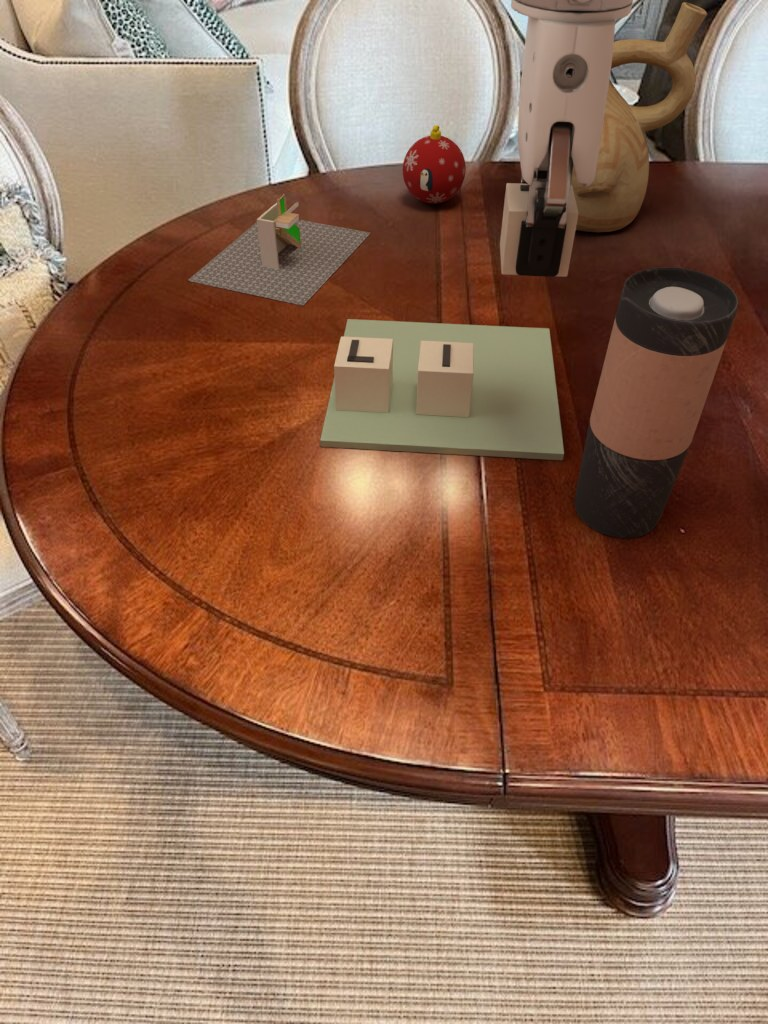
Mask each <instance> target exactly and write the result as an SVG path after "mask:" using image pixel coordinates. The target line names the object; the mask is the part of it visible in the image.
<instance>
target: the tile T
mask: <svg viewBox="0 0 768 1024" xmlns="http://www.w3.org/2000/svg"><path fill="white" fill-rule="evenodd" d="M545 191H546V190H545V189H538V194H537V202H538V200H539V198H544V194H545ZM528 194H529V184H521V183H520V182H519V183H516V182H515V183H514V182H513V183H512V182H507V183H506V186H505V194H504V203H503V211H502V220H501V221H502V222H501V231H500V239H499V252H500V255H499V256H500V269H501V270H500V273H501V275H506V276H507V275H512V276H519V275H518V274H517V273H516V260H517V253H518V245H519V237H520V230H521V222H522V221H526V213H527V204H528ZM578 214H579V213H578V209H577V205H576V200H575V196H574V192H573V187H572V185H571V187H570V195H569V203H568V211H567V218H566V225H567V227H566V233H565V238H564V244H563V250H562V256H561V262H560V267H559V273H558V274H557V275H556V276H555V277H560V278H561V277H565V278H567V277H568V275H569V270H570V265H571V258H572V252H573V246H574V240H575V236H576V231H577V230H576V225H577V219H578Z"/></svg>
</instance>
